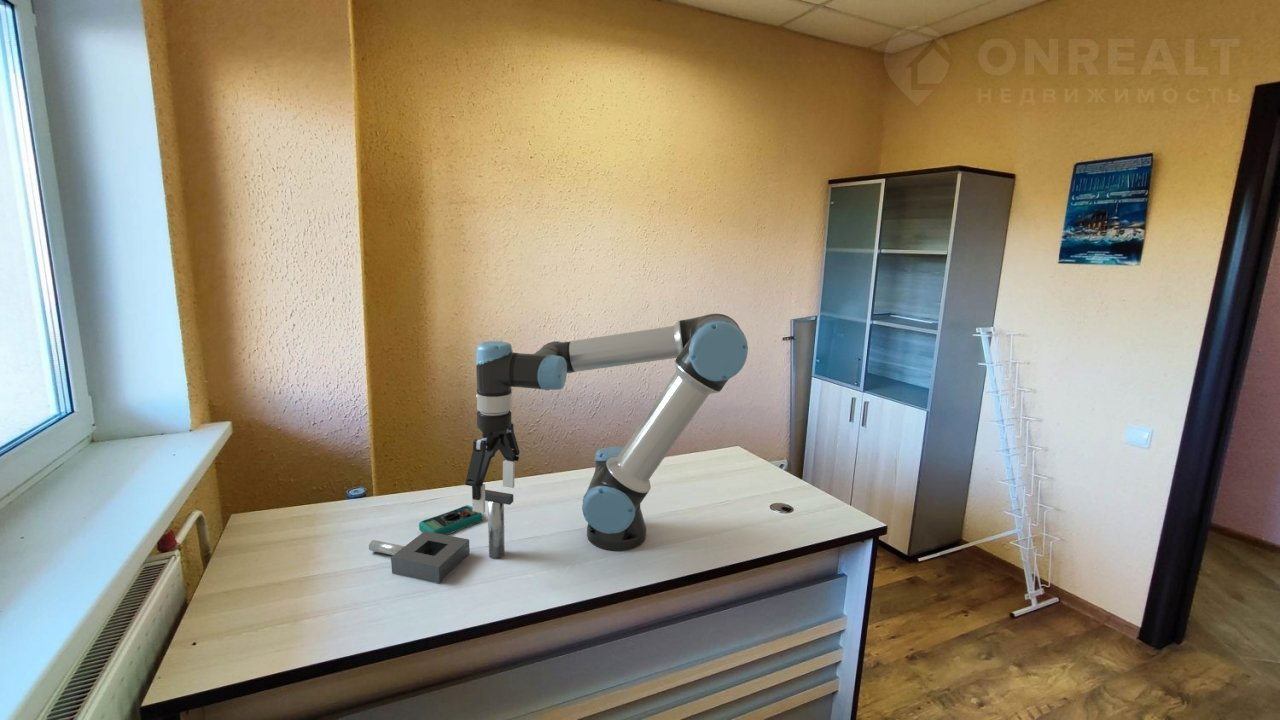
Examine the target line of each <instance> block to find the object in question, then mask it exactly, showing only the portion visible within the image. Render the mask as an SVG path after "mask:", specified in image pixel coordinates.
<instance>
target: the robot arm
mask: <svg viewBox="0 0 1280 720" xmlns="http://www.w3.org/2000/svg"><path fill="white" fill-rule="evenodd" d="M748 352H749V346H748V340H747V337H746V336H745V334H744V331H743V330H742V329H741V328H740V326H739V324H738V323H737V322H736V320H734V319H733V318H732V317H730V316H728V315H726V314H723V313H709V314H705V315H701V316H697V317H692V318H687V319H681V320H680V319H679V320H678V321H677V322H676V323H675V325H670V326H669V325H668V326H663V327H658V328H657V327H655V328H649V329H644V330H643V329H642V330H638V331H630V332H624V333H622V332H621V333H616V334H610V335H609V334H608V335H602V336H596V337H590V338H583V339H575V340H571V341H558V340H557V341H551V342H548V343H545V344H544V345H543V346H541V348H540V349H539V350H538V351H536V352H534V353H522V352H521V353H519V352H513V347H512V344H511V343H509V342H507V341H503V340H502V341H501V340H488V341H483V342H481V343H480V344H478V345H477V348H476V360H475V366H476V370H475V371H476V373H475V374H476V394H475V395H476V409H477V412H476V426H477V427H476V428H478V430H480V431H481V432H482V433H481V438H480V439H478V438H477V439H476V438H475V439H474V440H473V445H472V454H471V457H470V462H469V466H468V471H467V474H466V479H465V483H464V484H465V486H469V487H471V498H472V501H471V502H472V505H471V507H473V511H474V512H480V513H481V514H484V513H485V512H486V501H485V490H486V484H485V483H484V481H485V478H486V475H487V473H488V470H489V467H490V464H491V462H492V459H493V458H494V457H495V455H496V453H497V452H498V450H499V452H500V453H501V455H502V456H503V458H504V459H505V460H503V461H502V487H505V488H512V489H514V488H515V464H516V463H515V462H519V459H520V456H519V455H520V453H521V452H520V448H519V445H518V441H517V438H516V435H515V431H514V423H512V411H511V410H512V407H513V406H512V404H513V403H512V389H513V388H522V389H523V388H524V389H534V390H536V389H537V390H544V391H555V390H557V391H558V390H562V389H563V388H564V386H565V384H566V382H567V376H568V374H571V373H577V372H578V373H579V372H583V371H592V370H598V369H606V368H607V369H608V368H612V367H613V368H614V367H619V366H620V367H621V366H627V365H629V366H630V365H634V364H635V365H636V364H642V363H650V362H656V361H664V360H670V359H671V360H672V359H675V360H674V364H675V365H674V366H675V370H676V371H675V373H674V374H673V375H672V377H671V378H670V380H669V381H668V383H667V384H666V386H665V387H664V388H663V390H662V392H660V395H659V396H658V397H657V399H656V400H655V402H654V403H653V404H652V406H651V408H650V409H649V411H648V412H647V413H646V415H645V417H644V418H643V419H642V420H641V422H640V424H639V425H638V426H637V428H636V430H635V431H634V433H632V436H631V437H630V438H629V440H628V441H627V443H626V444H625V445H624V446H607V447H602V448H600V449H598V450H597V451H596V453H595V458H594V462H595V467H594V473H593V476H592V478H591V480H590V482H589V486H588V487H587V489H586V493H585V494H584V495H583V499H582V505H581V507H582V508H581V509H582V513H583V518H584V520H585V521H586V523H587V526H586V538H587V540H588V541H589V543H591V544H592V545H593V546H595V547H597V548H599V549H603V550H608V551H626V550H631V549H635V548H637V547H639V546H641V545H642V544H643V543H644V542H645V541H646V538H647V526H646V523H645V519H644V516H643V512H642V508H641V503H642V502H643V500H644V499H645V498H646V496H647V495H648V493H649V492H650V490H651V489H652V488H651V487H652V486H651V481H650V479H651V477H652V476H653V474H654V473H655V471H656V470H657V469H658V467H659V466H660V465H661V463H662V462H663V460H664V459H665V458H666V456H667V455H668V454H669V452H670V451H671V450H672V447H673V446H674V445H675V444H676V442H677V440H678V439H679V438H680V437H681V435H682V433H683V432H684V431H685V430H686V428H687V427H688V426H689V424H690V422H691V420H692V419H693V418H694V417H695V416H696V413H698V410H699V409H700V408H701V406H702V405H703V404H704V402H705V401H706V399H708V397H709V395H712V394H718V393H720V392H721V391H722V390H723V388H724V387H725V386H726V384H727V383H728V381H729V380H730V379H732V378H733V377H735V376H736V375H737V374H739V373H740V372H741V370H742V369H743V368H744V365H745V364H746V362H747V357H748V354H749V353H748ZM512 387H513V388H512Z"/></svg>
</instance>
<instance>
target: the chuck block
mask: <svg viewBox="0 0 1280 720" xmlns="http://www.w3.org/2000/svg"><path fill="white" fill-rule="evenodd" d="M368 550H369V551H372V552H376V553H379V554H385V555H390V561H391V564H390V565H391V574H393V575H398V576H403V577H408V578H411V579H416V580H420V581H425V582H430V583H435V584H441V583H442V582H443V581H444V580H445V579H446V578H447V577H448V576H449V575H451V573H452V572H453V571H455V569H457V568H458V567H459V565H461V564H462V563H463V562H464V561H465V560H466V559H467V558H468V557H469V556H470V554H471V552H470V539H468V538H464V537H458V536H453V535H449V534H447V535H443V534H438V533H433V532H428V531H424V532H423V533H422V532H421V533H420V534H419V535H418V536H416V537H415V538H413V540H411V541H410V542H409V543H407V544H406V545H399V544H395V543H392V542H391V543H390V542H385V541H381V540H375V539H372V540H371V541H370V542H369V545H368Z"/></svg>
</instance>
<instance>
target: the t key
mask: <svg viewBox="0 0 1280 720" xmlns="http://www.w3.org/2000/svg"><path fill="white" fill-rule="evenodd" d="M485 502H487V514H488V515H487V521H488V525H487V526H488V527H487V528H488V529H487V531H488V557H489V558H490V559H491V560H499V559H503V558H504V557H505V556H506V554H505V553H506V551H505V548H506V547H505V505H508V506H509V505H510V506H511V504H512V503H514V494H513V493H508V492H503V491H495V490H490V489H485Z"/></svg>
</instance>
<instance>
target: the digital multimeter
mask: <svg viewBox="0 0 1280 720" xmlns="http://www.w3.org/2000/svg"><path fill="white" fill-rule="evenodd" d="M481 522H483V513H480V512H474V511H473V507H472V505H471V506H470V505H468V504H467V505H464V506H461V507H458V508H456V509H453V510H450V511H448V512H445V513H441V514H439V515H436V516H433V517H430V518H426V519H424V520H421V521H420V522H418V528H419V529H418V530H419V531H420V532H421V534H422V533H423V532H424V531H428V532H433V533H438V534H443V535H449V534H451V533H454V532H456V531H459V530H461V529H465V528H467V527H469V526H473V525H475V524H478V523H481Z"/></svg>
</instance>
